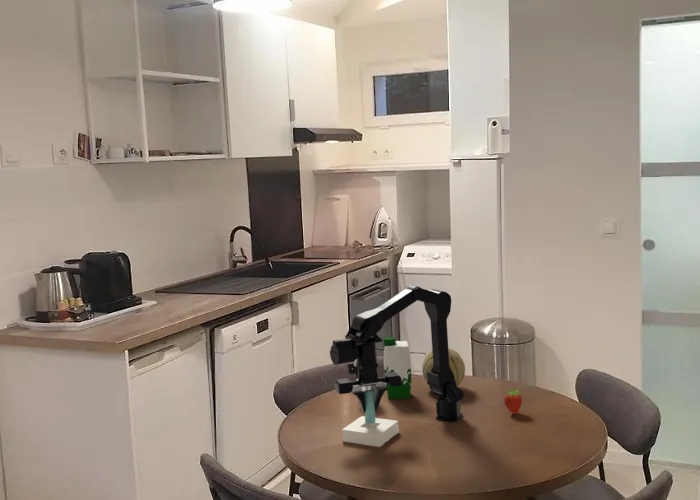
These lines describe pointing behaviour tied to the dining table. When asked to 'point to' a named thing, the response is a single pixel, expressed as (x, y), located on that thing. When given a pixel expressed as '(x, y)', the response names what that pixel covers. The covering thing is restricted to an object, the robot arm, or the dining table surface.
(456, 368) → the cantaloupe
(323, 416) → the dining table surface
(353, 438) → the socket block
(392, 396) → the milk carton
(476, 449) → the dining table surface
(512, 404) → the fruit
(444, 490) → the dining table surface
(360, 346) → the robot arm
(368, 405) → the peg
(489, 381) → the dining table surface
